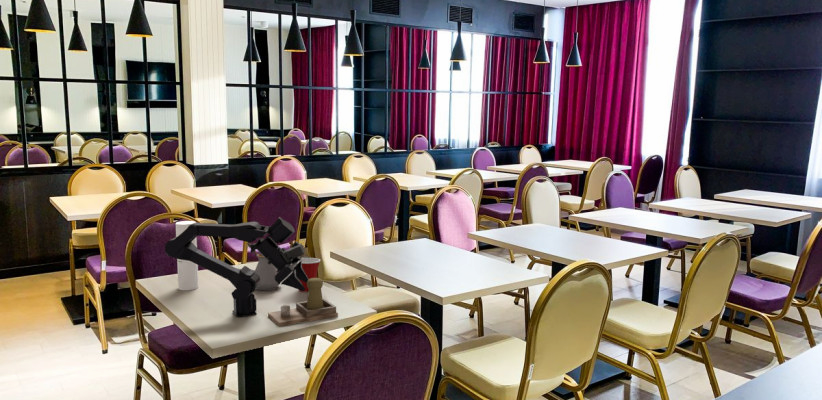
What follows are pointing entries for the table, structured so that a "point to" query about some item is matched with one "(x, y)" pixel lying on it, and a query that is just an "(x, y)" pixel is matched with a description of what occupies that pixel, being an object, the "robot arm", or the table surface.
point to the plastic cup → (309, 269)
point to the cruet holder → (302, 313)
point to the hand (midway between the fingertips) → (306, 286)
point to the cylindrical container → (186, 263)
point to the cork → (314, 294)
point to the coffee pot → (265, 273)
